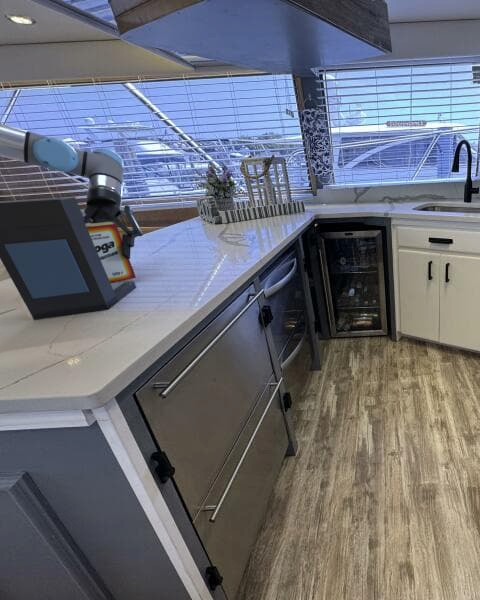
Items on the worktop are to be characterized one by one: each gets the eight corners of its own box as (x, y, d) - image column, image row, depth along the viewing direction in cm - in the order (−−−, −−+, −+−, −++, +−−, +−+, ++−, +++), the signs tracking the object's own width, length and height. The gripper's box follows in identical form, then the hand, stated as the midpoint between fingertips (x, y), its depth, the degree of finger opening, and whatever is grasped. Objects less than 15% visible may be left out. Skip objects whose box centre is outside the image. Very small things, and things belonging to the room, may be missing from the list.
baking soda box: (132, 273, 98) (111, 220, 91) (136, 277, 93) (115, 222, 87) (91, 281, 91) (66, 225, 85) (93, 286, 87) (67, 227, 81)
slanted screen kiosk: (32, 320, 71) (-32, 204, 61) (74, 294, 86) (28, 197, 76) (107, 310, 75) (58, 199, 65) (136, 287, 90) (99, 193, 80)
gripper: (157, 201, 101) (156, 260, 94) (64, 206, 95) (55, 271, 87) (145, 184, 95) (143, 246, 87) (44, 188, 88) (32, 257, 81)
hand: (99, 259), depth 87 cm, fingers closed on baking soda box, 11 cm apart
